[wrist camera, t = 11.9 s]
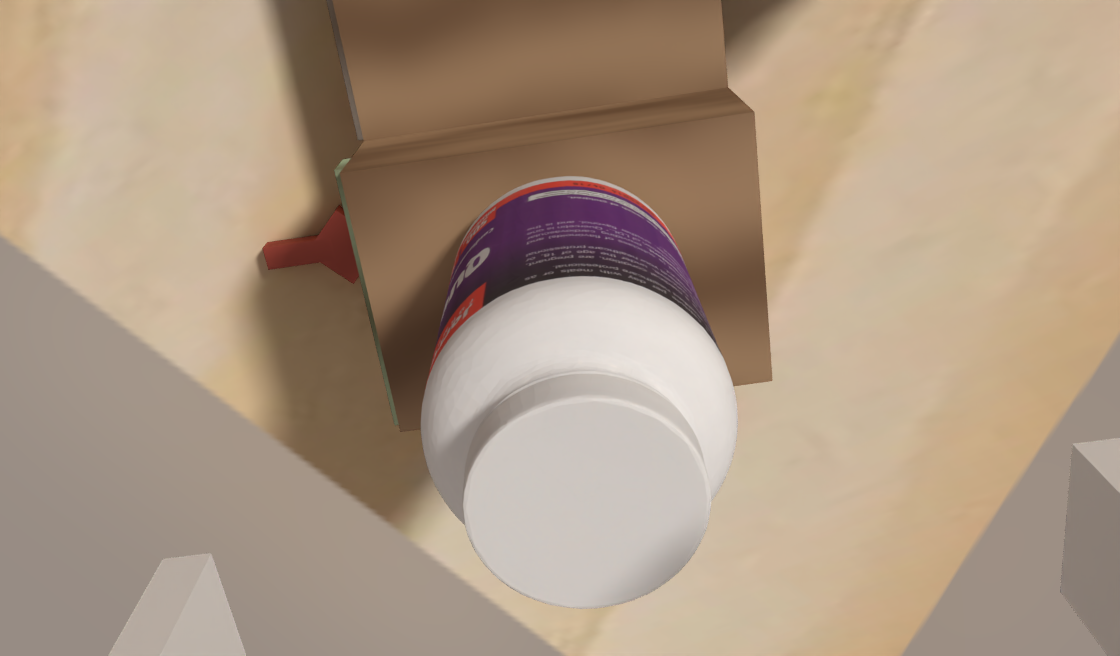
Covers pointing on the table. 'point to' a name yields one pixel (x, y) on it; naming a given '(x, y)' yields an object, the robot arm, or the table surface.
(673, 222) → the step stand
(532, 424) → the pill bottle
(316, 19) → the table surface
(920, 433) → the table surface
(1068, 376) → the table surface
